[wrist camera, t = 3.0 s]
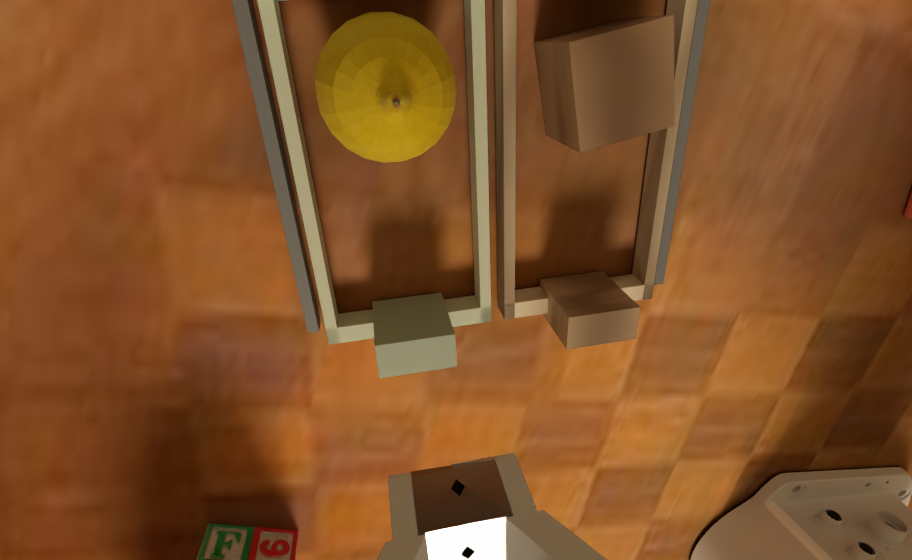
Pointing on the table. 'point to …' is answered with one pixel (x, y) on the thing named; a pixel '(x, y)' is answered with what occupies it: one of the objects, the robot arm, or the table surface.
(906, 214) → the cracker box
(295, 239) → the lane guides
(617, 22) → the walnut cube
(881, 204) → the table surface
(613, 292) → the frame
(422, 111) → the fruit
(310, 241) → the frame
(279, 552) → the stack of blocks
